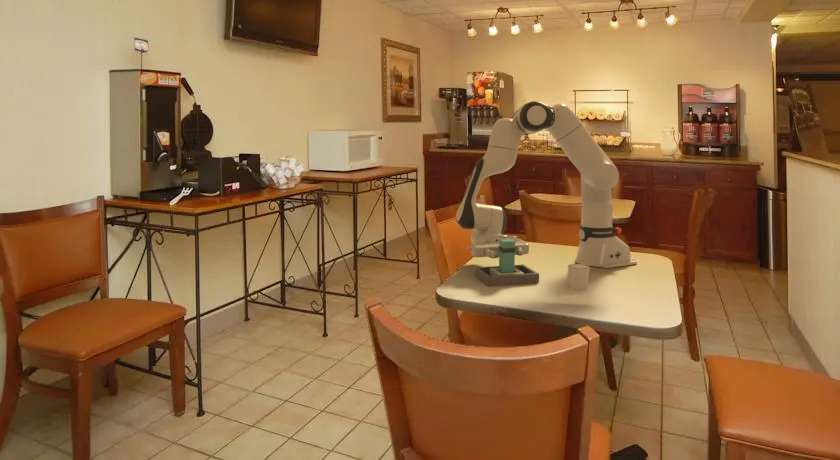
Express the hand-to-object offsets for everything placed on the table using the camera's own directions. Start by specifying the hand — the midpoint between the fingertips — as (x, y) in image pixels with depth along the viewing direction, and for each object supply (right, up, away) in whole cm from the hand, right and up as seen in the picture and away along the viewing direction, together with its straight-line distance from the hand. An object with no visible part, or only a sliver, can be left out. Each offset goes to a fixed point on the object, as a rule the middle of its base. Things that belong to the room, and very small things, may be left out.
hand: (507, 254), depth 189 cm
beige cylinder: (+22, -11, -7) cm, 25 cm away
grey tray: (0, -9, +3) cm, 9 cm away
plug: (0, -8, +2) cm, 9 cm away
